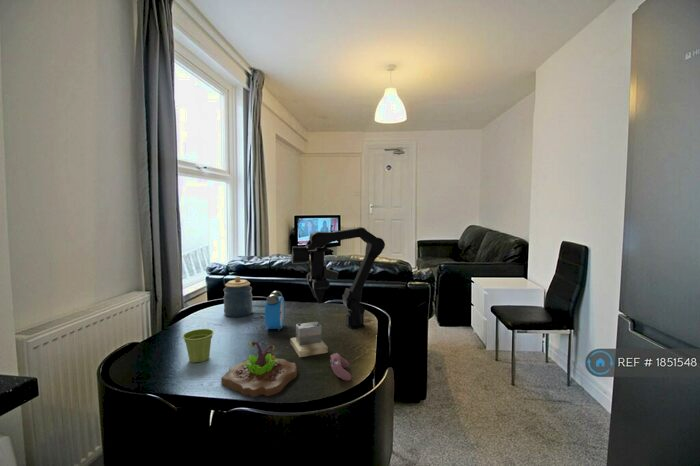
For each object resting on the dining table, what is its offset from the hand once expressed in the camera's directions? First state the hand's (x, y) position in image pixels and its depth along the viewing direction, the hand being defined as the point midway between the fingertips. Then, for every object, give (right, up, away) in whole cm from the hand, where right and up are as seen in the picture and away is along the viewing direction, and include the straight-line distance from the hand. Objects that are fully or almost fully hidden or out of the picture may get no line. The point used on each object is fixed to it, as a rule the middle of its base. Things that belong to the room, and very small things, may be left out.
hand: (317, 300), depth 145 cm
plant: (-13, -16, -40) cm, 45 cm away
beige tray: (-2, -14, -18) cm, 23 cm away
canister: (-39, -11, +22) cm, 46 cm away
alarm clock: (-18, -12, +2) cm, 22 cm away
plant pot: (-37, -14, -28) cm, 48 cm away
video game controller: (+10, -15, -38) cm, 42 cm away
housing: (-2, -11, -18) cm, 21 cm away
